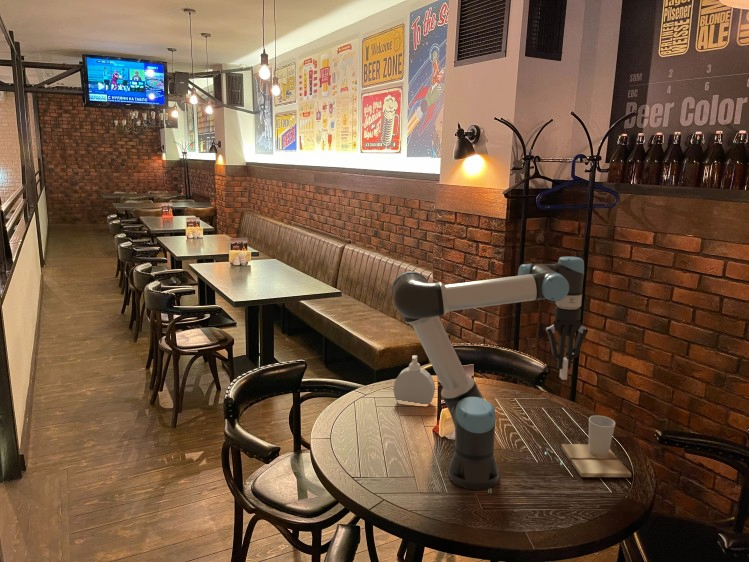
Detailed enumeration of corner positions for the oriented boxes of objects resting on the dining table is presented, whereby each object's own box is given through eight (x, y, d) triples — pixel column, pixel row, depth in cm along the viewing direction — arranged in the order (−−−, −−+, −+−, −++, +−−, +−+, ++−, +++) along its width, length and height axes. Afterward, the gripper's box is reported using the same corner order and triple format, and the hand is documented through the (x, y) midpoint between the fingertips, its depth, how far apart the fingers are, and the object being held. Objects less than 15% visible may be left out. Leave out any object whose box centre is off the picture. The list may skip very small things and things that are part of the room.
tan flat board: (570, 461, 179) (570, 458, 178) (561, 447, 188) (561, 444, 188) (617, 462, 178) (617, 458, 178) (606, 447, 188) (606, 444, 187)
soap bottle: (392, 404, 222) (393, 356, 218) (395, 399, 227) (396, 352, 223) (432, 409, 218) (433, 360, 214) (435, 403, 223) (436, 355, 219)
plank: (581, 476, 169) (581, 473, 169) (571, 463, 178) (571, 459, 178) (631, 477, 169) (631, 473, 169) (618, 463, 178) (618, 459, 178)
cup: (614, 462, 179) (618, 428, 176) (588, 460, 180) (592, 425, 177) (607, 449, 186) (611, 416, 184) (582, 447, 187) (586, 414, 185)
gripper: (550, 309, 170) (546, 382, 175) (593, 309, 170) (587, 382, 175) (543, 303, 177) (539, 373, 182) (585, 303, 177) (579, 373, 182)
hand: (563, 378), depth 178 cm, fingers closed
